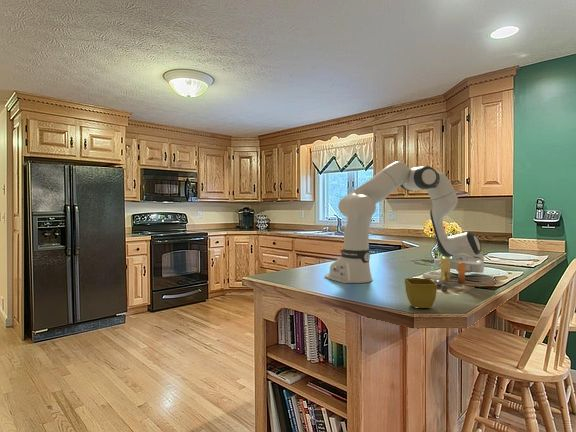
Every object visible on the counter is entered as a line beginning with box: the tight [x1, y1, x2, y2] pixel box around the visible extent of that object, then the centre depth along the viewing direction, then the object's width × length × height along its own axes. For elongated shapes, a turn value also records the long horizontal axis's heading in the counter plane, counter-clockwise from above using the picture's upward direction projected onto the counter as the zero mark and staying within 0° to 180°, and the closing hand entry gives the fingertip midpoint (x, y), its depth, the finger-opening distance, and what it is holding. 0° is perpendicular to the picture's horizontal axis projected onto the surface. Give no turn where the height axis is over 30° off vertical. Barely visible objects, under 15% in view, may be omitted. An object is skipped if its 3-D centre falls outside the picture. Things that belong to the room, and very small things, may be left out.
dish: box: [422, 270, 452, 280], centre depth 163 cm, size 9×9×2 cm
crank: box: [433, 262, 466, 287], centre depth 144 cm, size 12×5×9 cm, turn 68°
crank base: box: [431, 279, 476, 296], centre depth 145 cm, size 18×17×3 cm
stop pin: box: [440, 256, 451, 282], centre depth 151 cm, size 4×4×11 cm
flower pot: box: [404, 277, 437, 309], centre depth 122 cm, size 9×9×9 cm
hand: (450, 267), depth 155 cm, fingers open, 8 cm apart
